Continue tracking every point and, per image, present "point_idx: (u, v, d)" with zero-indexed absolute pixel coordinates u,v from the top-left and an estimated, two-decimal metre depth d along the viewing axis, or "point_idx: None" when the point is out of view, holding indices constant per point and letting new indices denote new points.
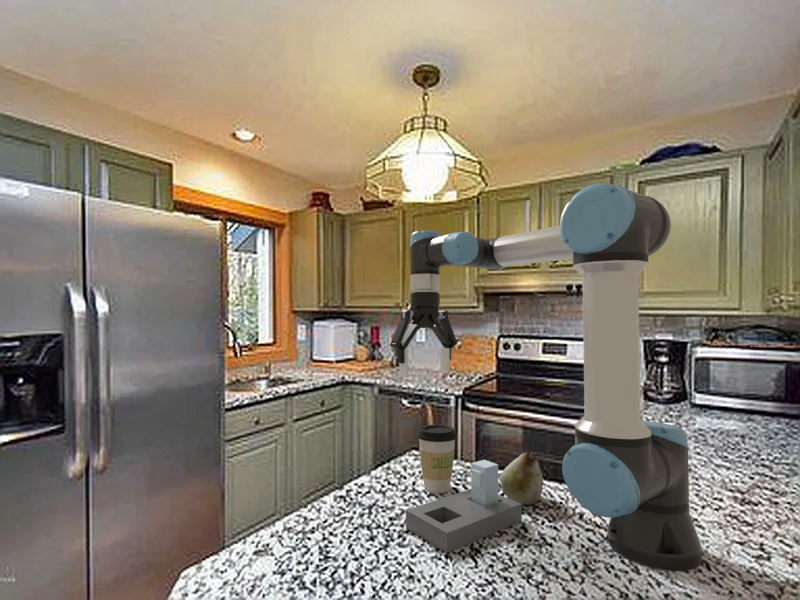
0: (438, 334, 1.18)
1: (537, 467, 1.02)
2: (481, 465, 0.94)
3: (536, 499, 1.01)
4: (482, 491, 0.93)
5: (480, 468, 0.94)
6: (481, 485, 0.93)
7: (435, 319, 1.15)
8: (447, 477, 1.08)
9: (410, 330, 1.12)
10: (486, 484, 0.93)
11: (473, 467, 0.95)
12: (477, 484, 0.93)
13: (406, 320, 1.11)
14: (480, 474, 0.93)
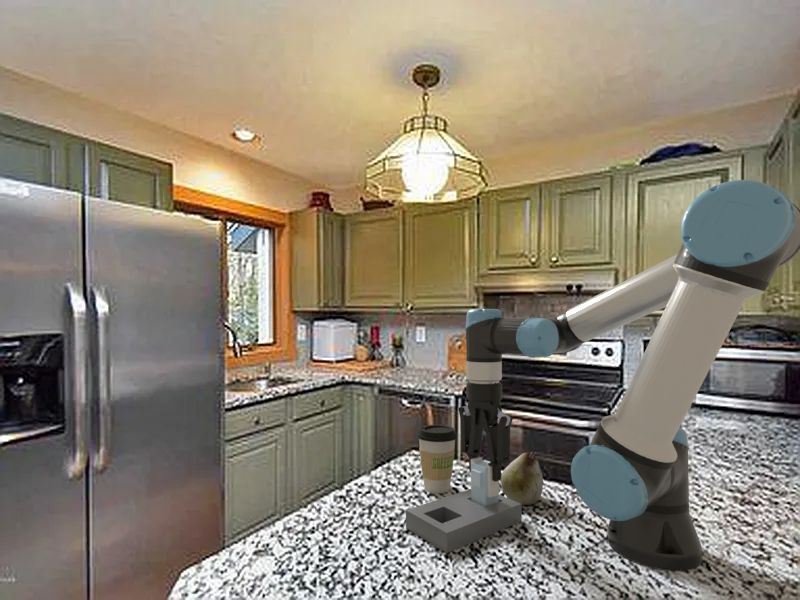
0: None
1: (537, 467, 1.02)
2: (481, 465, 0.94)
3: (536, 499, 1.01)
4: (482, 491, 0.93)
5: (480, 468, 0.94)
6: (481, 485, 0.93)
7: (483, 418, 0.94)
8: (447, 477, 1.08)
9: None
10: (486, 484, 0.93)
11: (473, 467, 0.95)
12: (477, 484, 0.93)
13: (461, 419, 1.00)
14: (480, 474, 0.93)
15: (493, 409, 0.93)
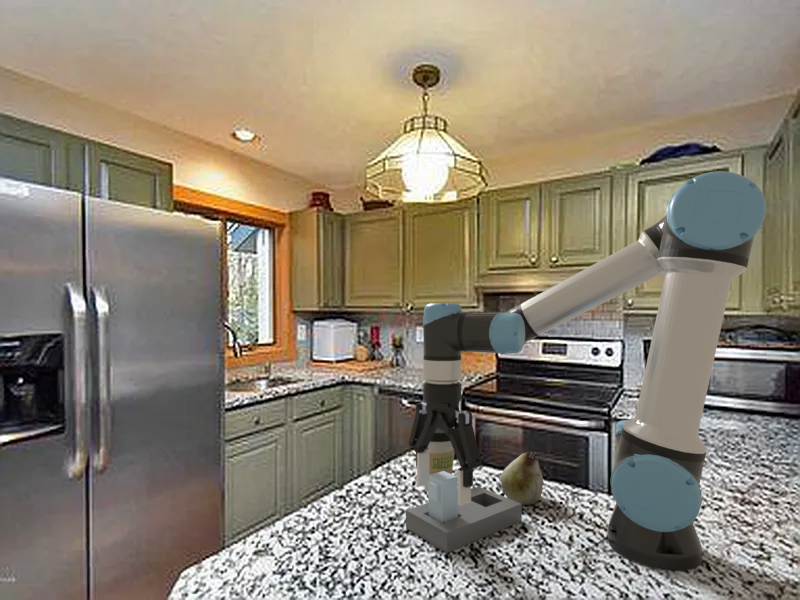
0: None
1: (537, 467, 1.02)
2: (438, 478, 0.87)
3: (536, 499, 1.01)
4: (439, 506, 0.86)
5: (437, 481, 0.87)
6: (438, 499, 0.86)
7: (442, 420, 0.86)
8: None
9: None
10: (444, 498, 0.86)
11: (430, 479, 0.88)
12: (434, 498, 0.86)
13: (416, 415, 0.93)
14: (437, 487, 0.86)
15: (450, 411, 0.86)
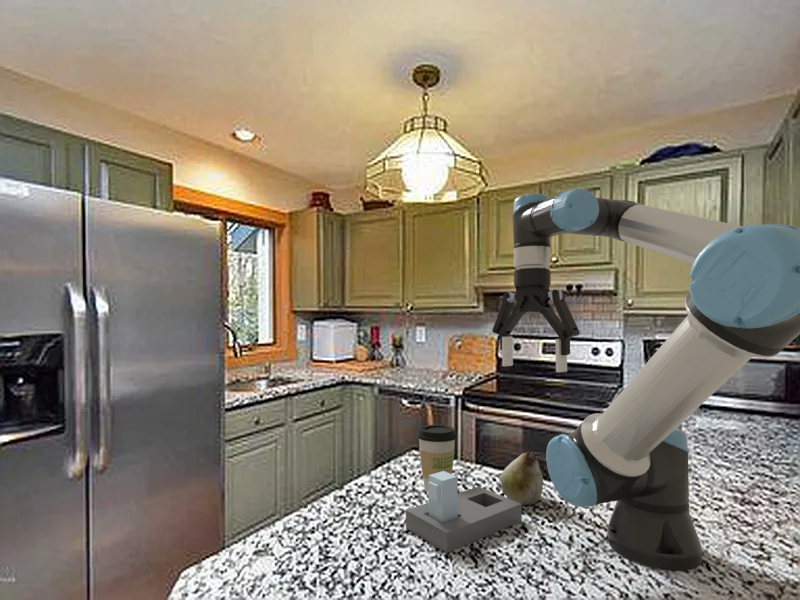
0: None
1: (537, 467, 1.02)
2: (438, 478, 0.87)
3: (536, 499, 1.01)
4: (439, 506, 0.86)
5: (437, 481, 0.87)
6: (438, 499, 0.86)
7: (534, 301, 0.93)
8: None
9: None
10: (444, 498, 0.86)
11: (430, 479, 0.88)
12: (434, 498, 0.86)
13: (503, 303, 1.01)
14: (437, 487, 0.86)
15: (542, 291, 0.93)
